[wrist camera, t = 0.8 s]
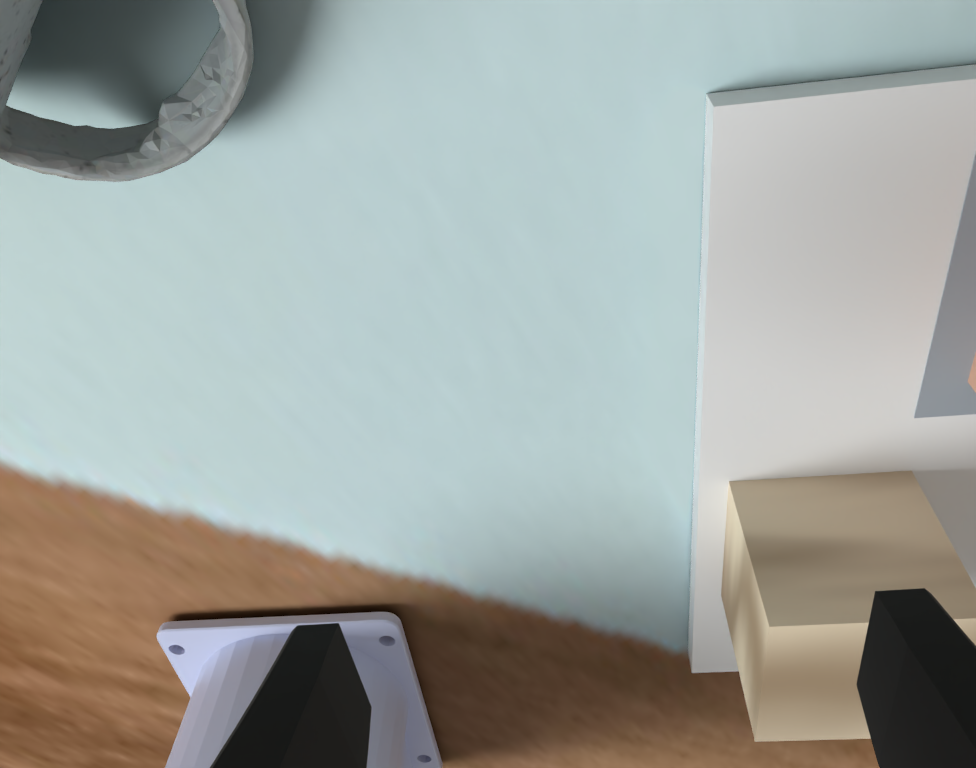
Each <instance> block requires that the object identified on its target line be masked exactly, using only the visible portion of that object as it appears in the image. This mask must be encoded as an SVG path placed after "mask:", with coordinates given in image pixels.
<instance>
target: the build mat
mask: <svg viewBox="0 0 976 768" xmlns="http://www.w3.org/2000/svg"><path fill="white" fill-rule="evenodd" d="M975 353H976V64H974V65H965V66H955V67H946V68H937V69H928V70H919V71H909V72H900V73H891V74H882V75H873V76H863V77H854V78H845V79H836V80H827V81H817V82H808V83H799V84H790V85H781V86H771V87H762V88H753V89H744V90H735V91H726V92H716V93H707V94H706V120H705V150H704V180H703V210H702V240H701V270H700V300H699V330H698V360H697V390H696V420H695V450H694V480H693V510H692V540H691V571H690V601H689V631H688V655H689V661H690V666H691V672H692V673H707V672H734V671H739V670H738V666H737V662H736V657H735V653H734V649H733V645H732V640H731V636H730V632H729V627H728V623H727V619H726V614H725V610H724V606H723V601H722V597H721V588H722V573H723V559H724V544H725V529H726V514H727V499H728V485H729V481H745V480H761V479H778V478H795V477H811V476H828V475H845V474H861V473H878V472H895V471H911V470H912V472H913V474H914V476H915V478H916V480H917V481H918V483H919V485H920V487H921V489H922V491H923V492H924V494H925V496H926V498H927V500H928V502H929V503H930V505H931V507H932V509H933V511H934V513H935V514H936V516H937V518H938V520H939V522H940V524H941V525H942V527H943V529H944V531H945V533H946V534H947V536H948V538H949V540H950V542H951V544H952V545H953V547H954V549H955V551H956V553H957V555H958V556H959V558H960V560H961V562H962V564H963V566H964V567H965V569H966V571H967V573H968V575H969V577H970V578H971V580H972V582H973V584H974V586H975V588H976V393H975V391H974V390H973V388H972V387H971V386H970V384H969V383H968V378H969V375H970V371H971V367H972V364H973V360H974V356H975Z"/></svg>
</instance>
